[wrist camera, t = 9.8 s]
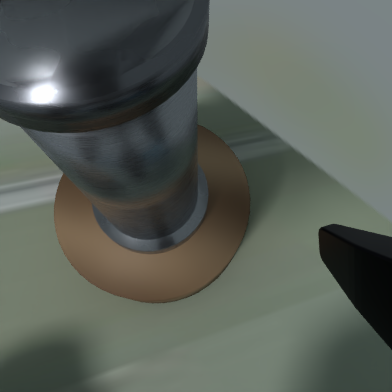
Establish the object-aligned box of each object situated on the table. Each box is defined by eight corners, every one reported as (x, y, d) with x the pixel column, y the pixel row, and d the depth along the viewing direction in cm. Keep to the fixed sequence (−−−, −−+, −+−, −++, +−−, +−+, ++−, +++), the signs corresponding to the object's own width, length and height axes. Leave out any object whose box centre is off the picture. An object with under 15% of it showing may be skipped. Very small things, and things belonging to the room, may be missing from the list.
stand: (216, 327, 20) (220, 329, 16) (49, 272, 21) (17, 262, 18) (258, 167, 24) (268, 140, 20) (115, 130, 25) (101, 98, 22)
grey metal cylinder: (144, 279, 17) (12, 188, 5) (75, 196, 19) (-141, -15, 7) (231, 201, 19) (288, -7, 7) (159, 132, 21) (102, -129, 9)
